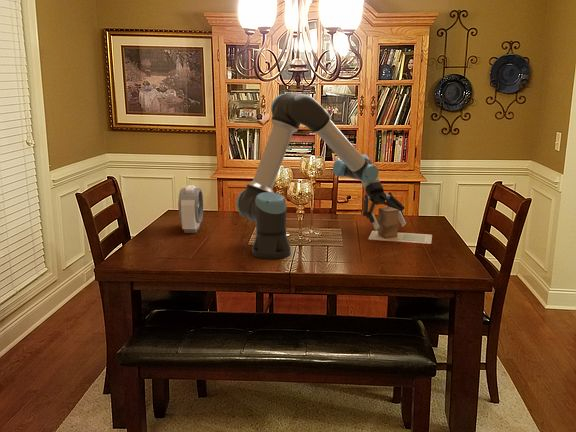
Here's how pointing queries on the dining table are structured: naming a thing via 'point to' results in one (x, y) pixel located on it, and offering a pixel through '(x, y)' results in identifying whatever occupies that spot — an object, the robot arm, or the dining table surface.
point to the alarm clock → (190, 208)
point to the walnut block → (388, 222)
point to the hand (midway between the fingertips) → (390, 226)
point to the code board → (404, 237)
